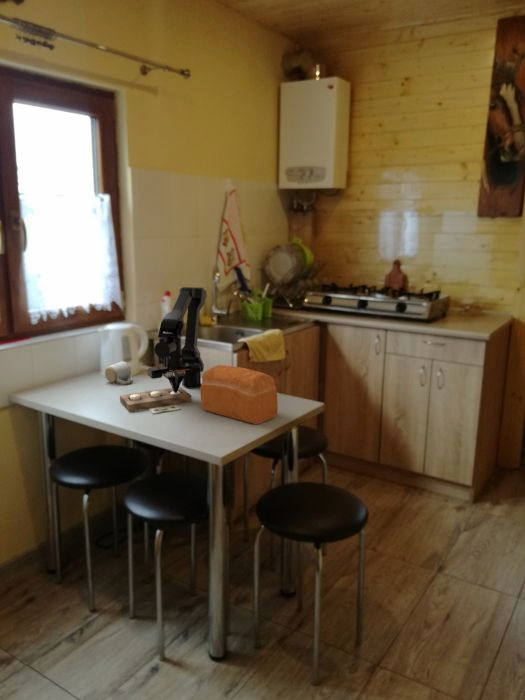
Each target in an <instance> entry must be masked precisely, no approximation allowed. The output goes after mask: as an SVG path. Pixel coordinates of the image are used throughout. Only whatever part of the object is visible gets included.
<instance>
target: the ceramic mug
mask: <svg viewBox="0 0 525 700" xmlns="http://www.w3.org/2000/svg"><path fill="white" fill-rule="evenodd" d="M104 375H105V378H106V380H107V381H108V382H109V383H110V384H116V383H119V384H122V385H130V384H132V381H133V377H132V369H131V367H130V365H129V363H127V362H126V361H120V362H117V363H113V364H112V365H109V366H107V367H106V369H105V372H104ZM127 380H128V381H127Z"/></svg>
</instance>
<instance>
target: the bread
mask: <svg viewBox="0 0 525 700" xmlns="http://www.w3.org/2000/svg"><path fill="white" fill-rule="evenodd" d="M201 380H202V381H201V386H200V388H199V390H200V392H199V393H200V406H201V409H202V410H203V411H206V412H209V413H212V414H213V413H214V414H217V415H221V416H223V417H227V418H231V419H234V420H238V421H242V422H244V423H249V424H252V425H253V424H254V425H258V424H259V425H260V424H262V423H265V422H267V421H269V420H271V419H274V418H275V417H276V416H278V406H279V405H278V391H277V387H276V381H275V379H274V378H273V377H272V376H270V375H269V374H266V373H265V372H261V371H256V370H253V369H250V368H245V367H240V366H233V365H223V364H221V365H220V364H218V365H215V366H213V367H211V368H209V369H207V370H206V371H205V372H203V374H202V376H201Z"/></svg>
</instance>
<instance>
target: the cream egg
mask: <svg viewBox="0 0 525 700" xmlns="http://www.w3.org/2000/svg"><path fill="white" fill-rule="evenodd" d="M132 394H133V395H130V401H134V400H140V395H139V394H134V393H132Z"/></svg>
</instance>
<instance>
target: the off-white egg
mask: <svg viewBox="0 0 525 700" xmlns="http://www.w3.org/2000/svg"><path fill="white" fill-rule="evenodd" d="M152 391H153V392H151V393H150V395H151V398H154V397H161V393H160V392H159V391H154V390H152Z"/></svg>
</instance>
